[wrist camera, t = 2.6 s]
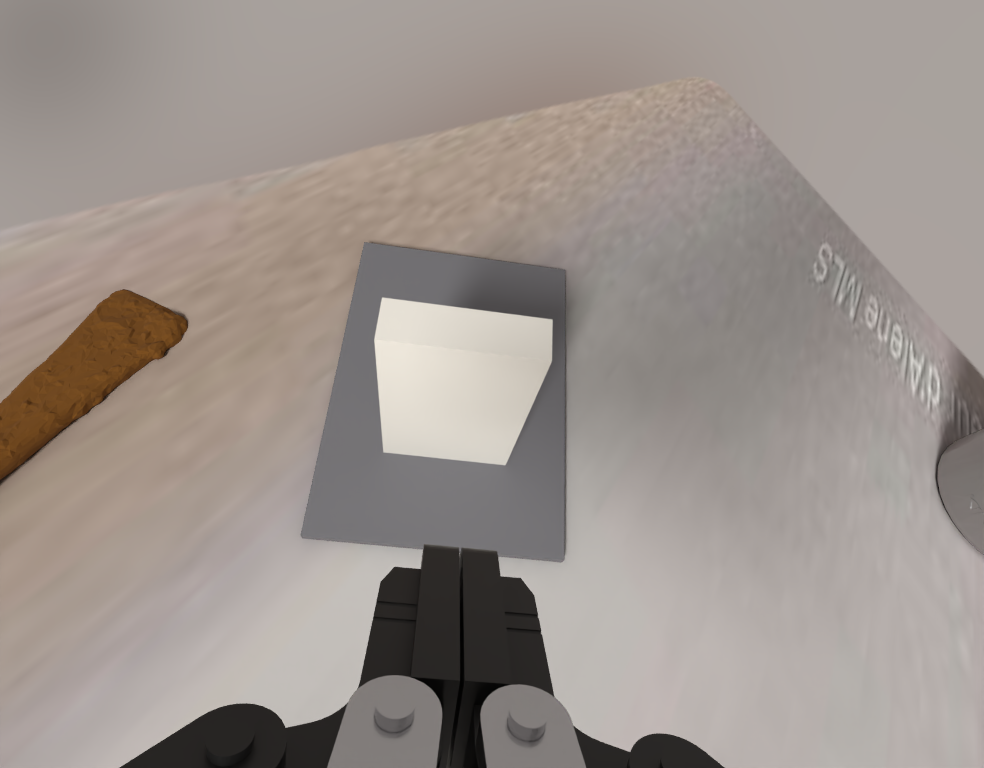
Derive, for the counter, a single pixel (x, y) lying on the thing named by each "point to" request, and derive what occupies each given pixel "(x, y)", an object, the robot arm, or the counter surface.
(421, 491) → the rubber mat
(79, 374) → the primitive tool
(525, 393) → the cream white block
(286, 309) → the counter surface
